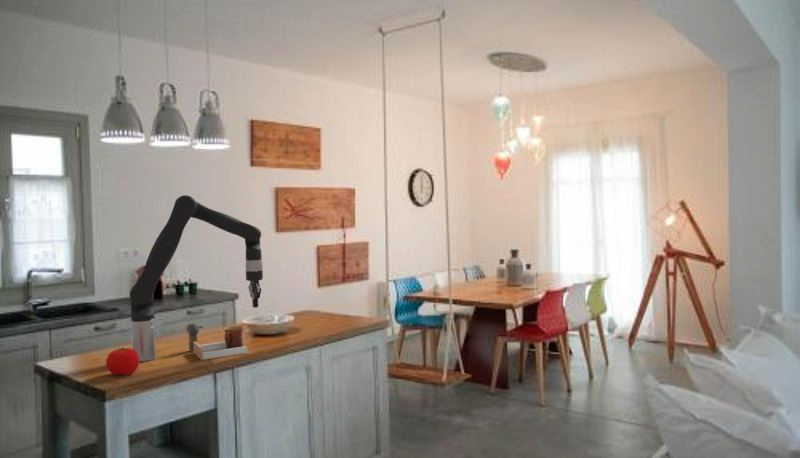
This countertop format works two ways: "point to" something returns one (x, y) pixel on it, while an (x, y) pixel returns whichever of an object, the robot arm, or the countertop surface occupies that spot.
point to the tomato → (122, 361)
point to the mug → (233, 336)
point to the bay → (203, 355)
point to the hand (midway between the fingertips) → (255, 307)
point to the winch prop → (192, 334)
